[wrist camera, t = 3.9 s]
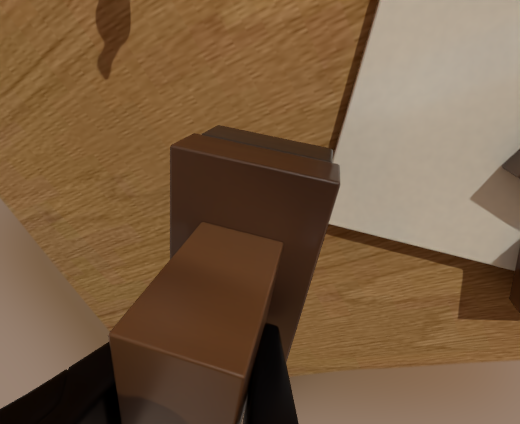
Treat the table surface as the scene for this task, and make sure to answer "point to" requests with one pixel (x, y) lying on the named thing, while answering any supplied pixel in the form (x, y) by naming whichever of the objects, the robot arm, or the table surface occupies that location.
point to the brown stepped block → (223, 274)
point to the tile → (435, 130)
